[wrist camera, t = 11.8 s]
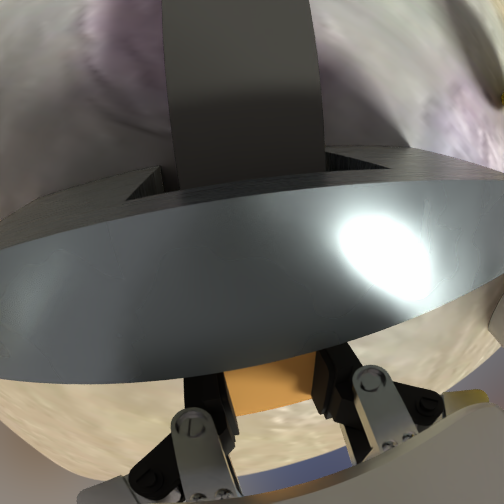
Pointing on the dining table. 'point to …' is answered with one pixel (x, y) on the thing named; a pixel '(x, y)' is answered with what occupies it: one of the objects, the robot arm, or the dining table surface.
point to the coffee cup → (498, 322)
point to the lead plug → (246, 126)
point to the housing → (239, 265)
